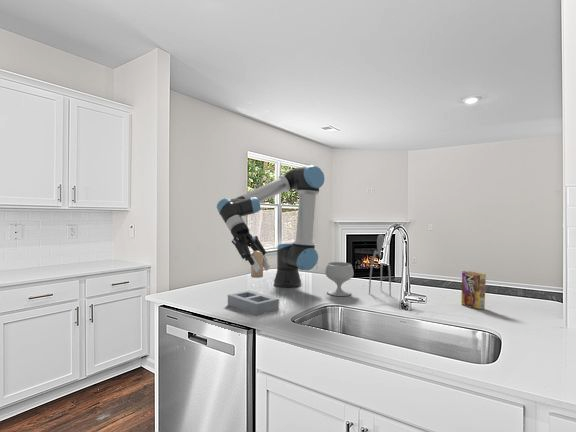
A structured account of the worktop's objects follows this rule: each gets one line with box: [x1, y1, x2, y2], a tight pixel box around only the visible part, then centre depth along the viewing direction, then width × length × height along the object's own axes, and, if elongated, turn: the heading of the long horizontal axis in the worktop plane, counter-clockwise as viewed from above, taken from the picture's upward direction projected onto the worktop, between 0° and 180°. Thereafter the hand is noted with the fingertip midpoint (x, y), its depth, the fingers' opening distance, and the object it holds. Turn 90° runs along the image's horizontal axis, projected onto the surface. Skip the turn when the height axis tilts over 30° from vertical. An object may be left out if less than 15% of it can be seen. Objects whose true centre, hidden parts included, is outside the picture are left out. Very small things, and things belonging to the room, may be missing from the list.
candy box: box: [460, 270, 487, 309], centre depth 158 cm, size 9×4×15 cm, turn 26°
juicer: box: [368, 233, 392, 296], centre depth 178 cm, size 10×9×30 cm
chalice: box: [324, 261, 355, 297], centre depth 178 cm, size 14×14×15 cm
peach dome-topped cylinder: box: [250, 251, 264, 279], centre depth 150 cm, size 5×5×11 cm
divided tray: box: [227, 290, 280, 316], centre depth 153 cm, size 12×20×4 cm, turn 44°
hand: (263, 269), depth 147 cm, fingers closed on peach dome-topped cylinder, 5 cm apart
